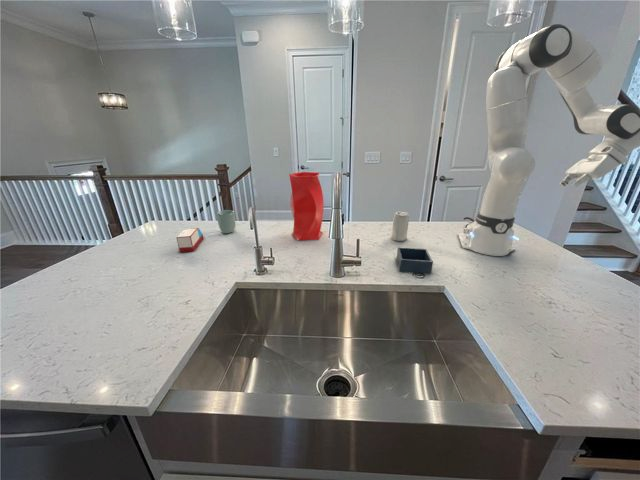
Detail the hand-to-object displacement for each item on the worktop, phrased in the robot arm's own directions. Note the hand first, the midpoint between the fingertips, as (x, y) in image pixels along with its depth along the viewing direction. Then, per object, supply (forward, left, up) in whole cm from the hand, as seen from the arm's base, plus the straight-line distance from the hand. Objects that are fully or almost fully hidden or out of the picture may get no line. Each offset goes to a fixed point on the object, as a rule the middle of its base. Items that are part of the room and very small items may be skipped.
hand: (567, 185), depth 100 cm
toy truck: (+22, -150, -24) cm, 154 cm away
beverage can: (+4, -61, -24) cm, 66 cm away
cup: (+5, -142, -24) cm, 144 cm away
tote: (+29, -59, -24) cm, 70 cm away
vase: (+5, -102, -24) cm, 105 cm away
